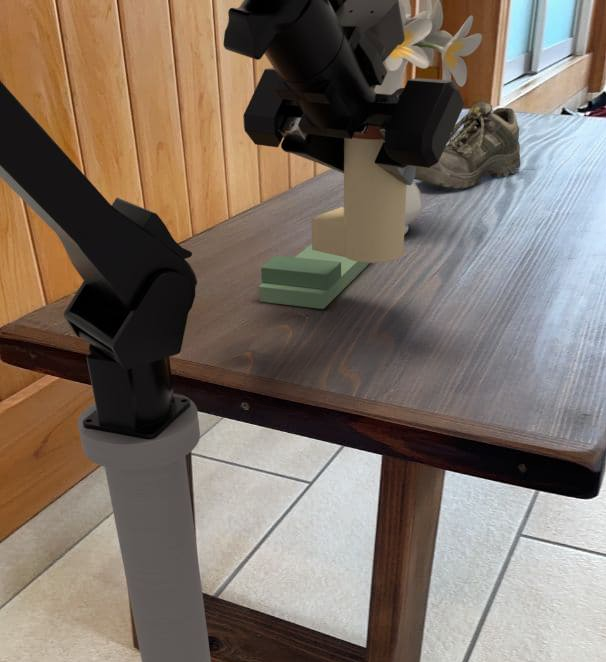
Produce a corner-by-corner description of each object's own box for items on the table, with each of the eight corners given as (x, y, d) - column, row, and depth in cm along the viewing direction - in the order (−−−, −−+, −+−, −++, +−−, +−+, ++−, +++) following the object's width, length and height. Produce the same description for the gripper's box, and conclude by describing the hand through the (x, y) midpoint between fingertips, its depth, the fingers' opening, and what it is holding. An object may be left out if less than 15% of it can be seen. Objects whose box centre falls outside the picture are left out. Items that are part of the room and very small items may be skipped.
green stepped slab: (324, 309, 85) (324, 277, 83) (258, 301, 87) (256, 270, 85) (374, 259, 96) (374, 231, 95) (315, 254, 99) (314, 225, 97)
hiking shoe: (385, 169, 122) (427, 92, 113) (475, 160, 134) (518, 90, 125) (424, 213, 119) (469, 137, 110) (511, 200, 132) (559, 131, 123)
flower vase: (444, 255, 97) (462, -4, 82) (299, 238, 104) (292, -5, 89) (477, 224, 106) (499, -13, 92) (342, 210, 113) (342, -13, 99)
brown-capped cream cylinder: (416, 251, 80) (424, 110, 73) (381, 267, 76) (385, 121, 69) (344, 236, 84) (345, 102, 77) (308, 251, 81) (305, 111, 74)
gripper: (463, -48, 59) (514, 105, 73) (256, -46, 68) (335, 89, 82) (398, 94, 59) (461, 222, 72) (199, 77, 68) (288, 193, 81)
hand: (383, 176), depth 77 cm, fingers closed on brown-capped cream cylinder, 5 cm apart
